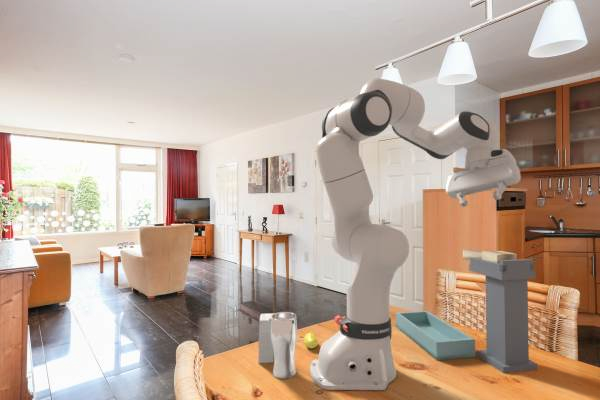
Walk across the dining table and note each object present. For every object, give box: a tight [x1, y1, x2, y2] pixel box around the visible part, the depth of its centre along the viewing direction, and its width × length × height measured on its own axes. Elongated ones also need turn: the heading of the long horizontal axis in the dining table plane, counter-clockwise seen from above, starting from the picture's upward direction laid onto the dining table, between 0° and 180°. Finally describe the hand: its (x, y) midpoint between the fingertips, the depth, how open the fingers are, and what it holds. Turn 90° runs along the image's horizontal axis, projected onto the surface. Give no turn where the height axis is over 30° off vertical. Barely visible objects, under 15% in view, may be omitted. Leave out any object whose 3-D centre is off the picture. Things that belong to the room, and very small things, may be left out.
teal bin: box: [395, 310, 476, 361], centre depth 109 cm, size 12×26×5 cm, turn 9°
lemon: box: [303, 331, 319, 349], centre depth 105 cm, size 4×8×4 cm, turn 1°
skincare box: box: [258, 312, 275, 364], centre depth 97 cm, size 6×4×12 cm
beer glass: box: [271, 311, 298, 380], centre depth 88 cm, size 7×7×15 cm
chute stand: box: [468, 258, 538, 374], centre depth 95 cm, size 10×13×29 cm
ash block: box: [462, 249, 517, 264], centre depth 101 cm, size 6×17×4 cm, turn 9°
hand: (479, 202), depth 96 cm, fingers open, 8 cm apart
